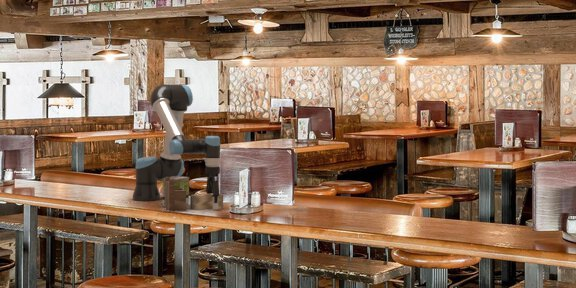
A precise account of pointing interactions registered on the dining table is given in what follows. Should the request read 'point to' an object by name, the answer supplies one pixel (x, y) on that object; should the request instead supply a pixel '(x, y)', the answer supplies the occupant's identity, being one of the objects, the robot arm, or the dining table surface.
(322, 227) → the dining table surface
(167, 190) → the brown box
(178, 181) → the tea box
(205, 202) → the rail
